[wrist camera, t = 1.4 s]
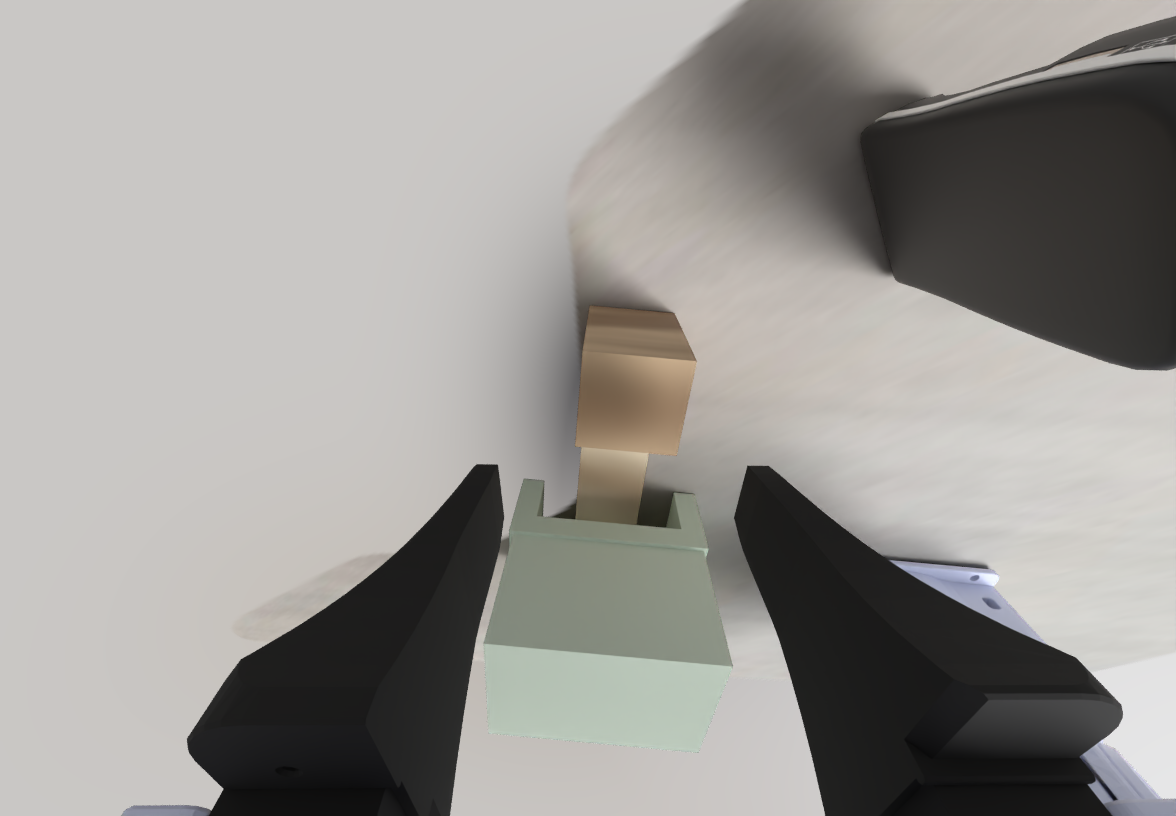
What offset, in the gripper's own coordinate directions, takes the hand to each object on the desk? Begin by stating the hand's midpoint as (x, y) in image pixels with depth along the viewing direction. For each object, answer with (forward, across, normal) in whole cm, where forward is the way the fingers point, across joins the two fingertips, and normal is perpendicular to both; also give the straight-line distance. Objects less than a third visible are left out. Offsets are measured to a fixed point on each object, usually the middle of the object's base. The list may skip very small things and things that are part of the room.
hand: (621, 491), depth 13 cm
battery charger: (+10, -12, -7) cm, 18 cm away
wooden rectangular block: (+10, -1, +5) cm, 11 cm away
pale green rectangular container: (+10, 0, +12) cm, 15 cm away
